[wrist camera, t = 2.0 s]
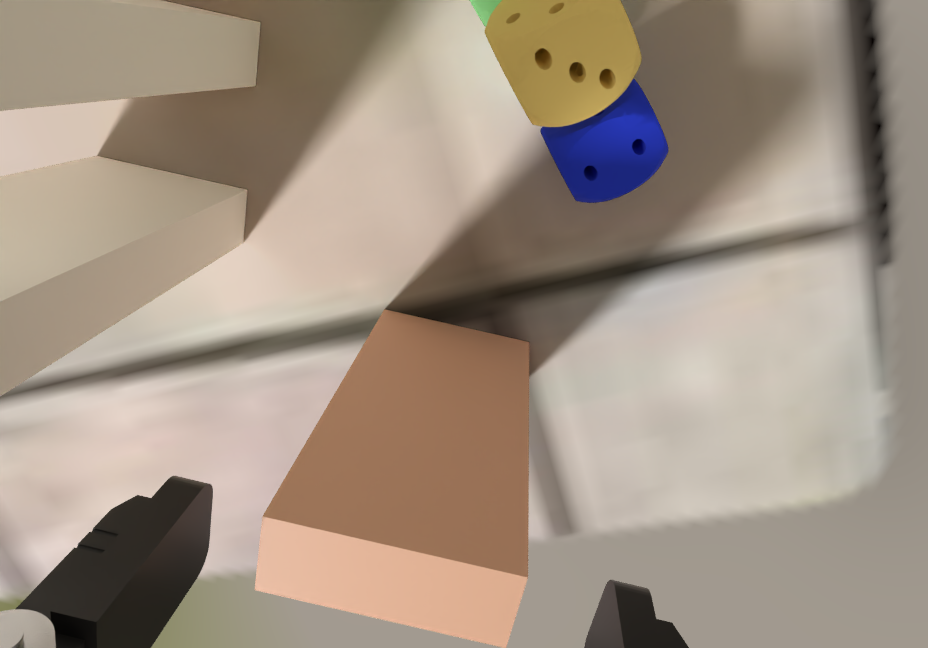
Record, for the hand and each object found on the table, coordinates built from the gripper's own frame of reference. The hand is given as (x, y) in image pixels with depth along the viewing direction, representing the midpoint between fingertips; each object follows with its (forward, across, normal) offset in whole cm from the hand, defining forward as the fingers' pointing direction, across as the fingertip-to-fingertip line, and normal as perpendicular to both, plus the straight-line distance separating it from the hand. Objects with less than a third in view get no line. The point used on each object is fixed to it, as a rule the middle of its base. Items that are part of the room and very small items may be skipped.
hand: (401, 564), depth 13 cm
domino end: (+10, 0, 0) cm, 10 cm away
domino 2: (+10, +10, -3) cm, 15 cm away
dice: (+10, -1, -10) cm, 15 cm away
